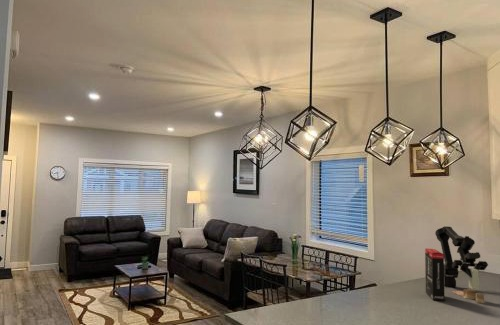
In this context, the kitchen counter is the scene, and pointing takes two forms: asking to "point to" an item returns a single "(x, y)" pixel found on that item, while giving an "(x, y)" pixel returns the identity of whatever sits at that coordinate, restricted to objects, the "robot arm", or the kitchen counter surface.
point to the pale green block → (474, 279)
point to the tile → (459, 292)
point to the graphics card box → (434, 274)
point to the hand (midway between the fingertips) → (474, 277)
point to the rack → (473, 295)
